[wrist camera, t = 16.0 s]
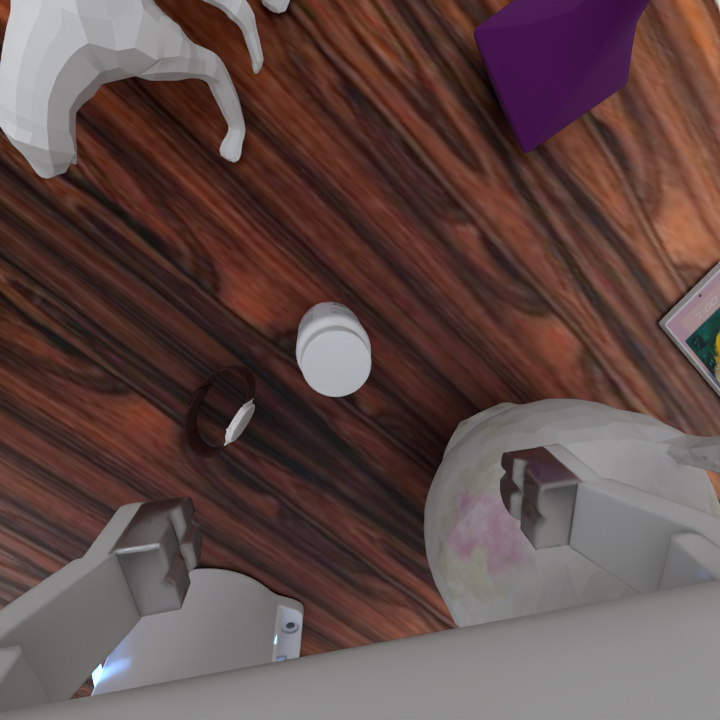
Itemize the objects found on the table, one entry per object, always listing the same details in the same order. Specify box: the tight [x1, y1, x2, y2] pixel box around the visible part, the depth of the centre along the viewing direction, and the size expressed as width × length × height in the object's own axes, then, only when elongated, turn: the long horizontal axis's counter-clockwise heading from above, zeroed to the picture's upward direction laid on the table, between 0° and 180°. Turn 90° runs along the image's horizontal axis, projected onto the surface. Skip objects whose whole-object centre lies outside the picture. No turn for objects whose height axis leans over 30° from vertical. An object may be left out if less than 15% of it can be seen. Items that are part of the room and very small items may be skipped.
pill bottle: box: [296, 302, 371, 397], centre depth 24 cm, size 5×5×8 cm
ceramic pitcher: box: [424, 399, 720, 628], centre depth 22 cm, size 22×20×25 cm
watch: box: [184, 365, 255, 458], centre depth 27 cm, size 8×5×4 cm, turn 152°
